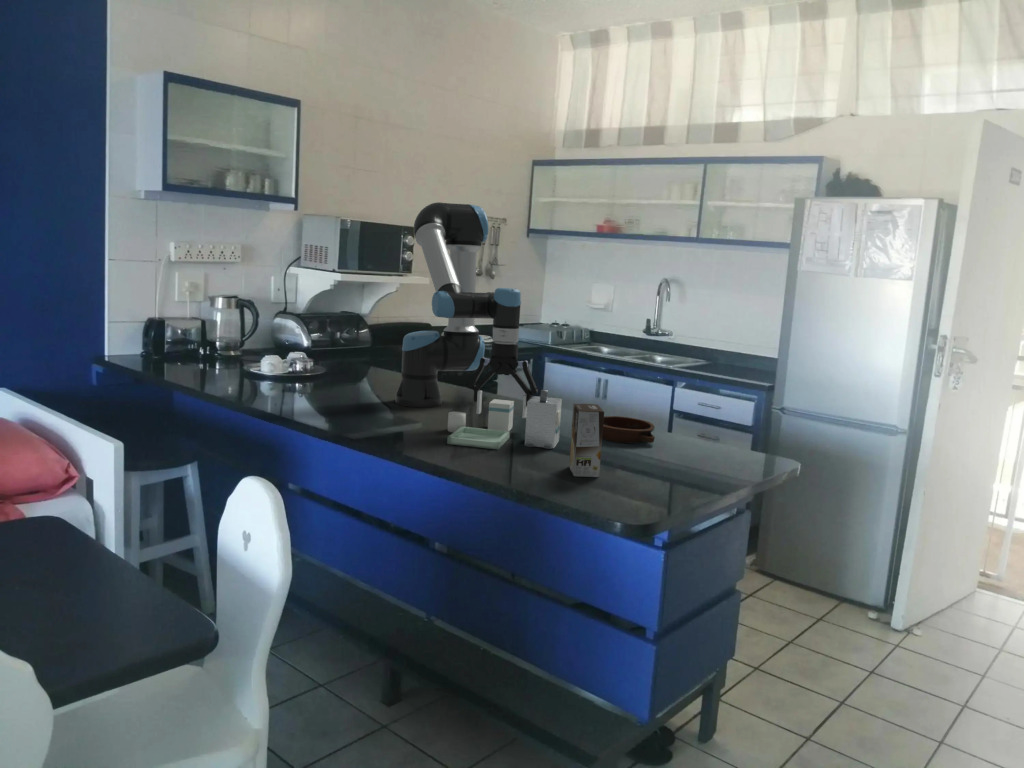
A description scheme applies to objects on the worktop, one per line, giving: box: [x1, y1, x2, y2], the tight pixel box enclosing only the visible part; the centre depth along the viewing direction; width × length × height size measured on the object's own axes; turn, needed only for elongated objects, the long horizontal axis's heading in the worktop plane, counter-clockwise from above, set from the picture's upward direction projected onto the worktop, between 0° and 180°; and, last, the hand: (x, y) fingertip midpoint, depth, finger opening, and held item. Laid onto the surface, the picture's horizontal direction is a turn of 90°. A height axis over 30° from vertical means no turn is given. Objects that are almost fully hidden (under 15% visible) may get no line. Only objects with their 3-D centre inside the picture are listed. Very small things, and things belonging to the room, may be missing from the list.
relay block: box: [487, 398, 515, 432], centre depth 241 cm, size 6×6×8 cm
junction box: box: [524, 389, 563, 450], centre depth 226 cm, size 8×11×15 cm
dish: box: [602, 415, 656, 444], centre depth 238 cm, size 18×22×5 cm
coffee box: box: [568, 403, 605, 478], centre depth 199 cm, size 9×6×16 cm
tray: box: [446, 426, 511, 450], centre depth 225 cm, size 14×14×2 cm
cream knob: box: [447, 411, 467, 433], centre depth 235 cm, size 5×5×5 cm
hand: (501, 415), depth 240 cm, fingers open, 13 cm apart
